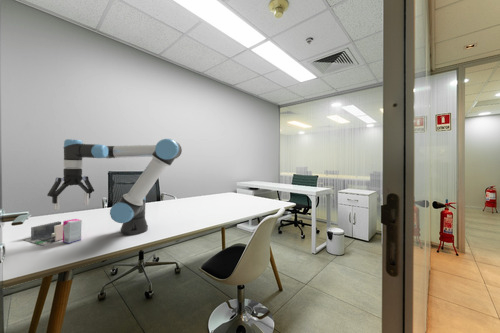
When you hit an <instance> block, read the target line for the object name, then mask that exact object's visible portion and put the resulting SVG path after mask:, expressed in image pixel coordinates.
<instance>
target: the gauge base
mask: <svg viewBox="0 0 500 333" xmlns="http://www.w3.org/2000/svg"><path fill="white" fill-rule="evenodd" d="M61 224H62V221H54V222H50V223H45V224H40V225H36V226H31V227H30V237H29V238H25V239H23V241H24V242H28V243H32V244H35V245H38V246H42V247H43V246H47V245H50V244H54V243H57V242H60V241H63V239H61V240H57V241H55V239H54V238H52V239H49V240H45V241H42V240H43V239H47V238H50V237H52V233H54V226H56V225H61Z"/></svg>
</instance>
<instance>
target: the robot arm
mask: <svg viewBox="0 0 500 333" xmlns="http://www.w3.org/2000/svg"><path fill="white" fill-rule="evenodd" d="M182 150H183V149H182V146H181V144H180V143H178V142H177V141H175V140H173V139H171V138H164V139H160V140H159V141H158V142H157V143H156V144H142V145H141V144H139V145H138V144H137V145H105V144H99V143H98V144H95V143H94V144H92V143H91V144H90V143H84V142H83V140H81V139H65V140H64V141H63V177H56V178H55V181H54V183H53V185H52V186H51V188H50V190H49V191H48V193H47V195H46V196H47V197H51V198H52V200H51V203H52V204H53V205H54V210H56V211H59V210H60V194H62V193H63V192H64V191H65V189H67V187H69V186H78V187H80V188H81V189H82V190H83V191H84V198H83V199H84V200H83V201H84V203H83V204H84V205H86V206H88V205H89V204H90V199H91V194H92V192H95V189H94V188H93V185H92V184H91V181H90V179H89V175H88V176H86V175H83V169H82V168H83V158H87V159H88V158H89V159H90V158H91V159H120V158H123V159H124V158H128V159H129V158H152V159H151V160H150V162H149V163H148V164H147V166H146V167H145V169H144V170H143V171H142V173H141V174H140V176H139V177H138V179H137V180H136V182H135V183H134V184H133V185H132V187H131V188H130V190H129V191H128V193H127V192H126V193H124V194H123V195H122V196H121V198H119V201H118V202H116V203H114V204H113V205H112V206H111V208H110V209H109V215H110V218H111V219H112V221H114V222H116V223H119V224H121V227H120V229H119V230H120V234H121V235H124V236H134V235H140V234H142V233H145V232H147V231H148V229H149V228H148V227H149V225H148V223H147V220H146V201H147V199H146V197H147V195H148V194H149V192H150V191H151V189H152V188H153V187H154V185H155V183H156V182H157V181H158V179H159V178H160V176H161V175H162V174H163V172H164V170H165V169H166V167H170V166H171V165H172V163H173V162H174V161H175V160H176V159H178V158H179V157H180V156H181V154H182ZM82 175H83V176H82ZM82 180H83V182H84V183H83V182H82Z"/></svg>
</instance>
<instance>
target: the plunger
mask: <svg viewBox="0 0 500 333" xmlns="http://www.w3.org/2000/svg"><path fill="white" fill-rule="evenodd" d="M52 238H54V239H55V241H57V240H60V241H62V240H61V239H63V223H61V225H56V226H54V233H52V237H50V238H47V239H43V240H42V241H45V240H49V239H52ZM57 242H58V241H57Z"/></svg>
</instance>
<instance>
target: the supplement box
mask: <svg viewBox="0 0 500 333" xmlns="http://www.w3.org/2000/svg"><path fill="white" fill-rule="evenodd" d="M82 222H83V221H82V219H79V218H73V219H67V220H64V221H63V223H62V224H63V240H62V243H65V244H68V245H71V244H74V243H77V242H80V241H82V228H83V227H82V224H83V223H82Z"/></svg>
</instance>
